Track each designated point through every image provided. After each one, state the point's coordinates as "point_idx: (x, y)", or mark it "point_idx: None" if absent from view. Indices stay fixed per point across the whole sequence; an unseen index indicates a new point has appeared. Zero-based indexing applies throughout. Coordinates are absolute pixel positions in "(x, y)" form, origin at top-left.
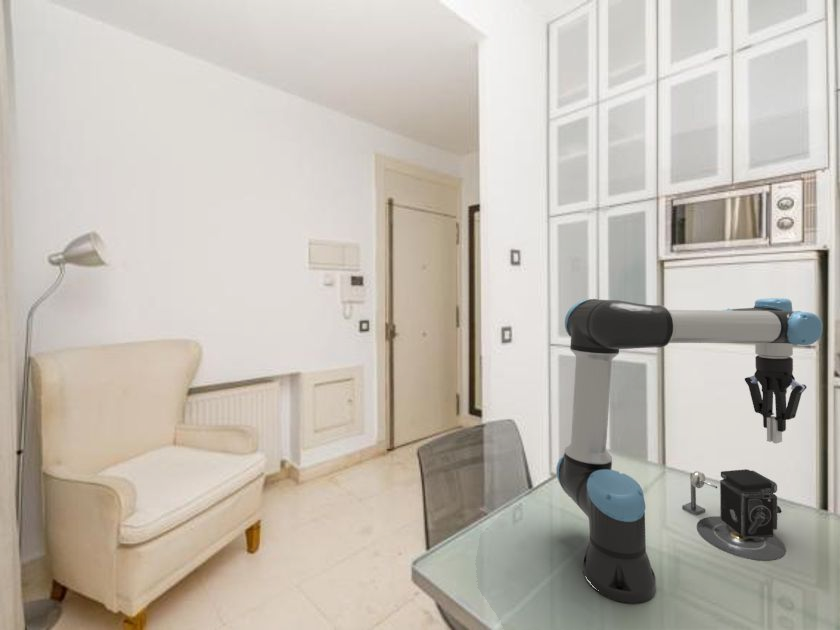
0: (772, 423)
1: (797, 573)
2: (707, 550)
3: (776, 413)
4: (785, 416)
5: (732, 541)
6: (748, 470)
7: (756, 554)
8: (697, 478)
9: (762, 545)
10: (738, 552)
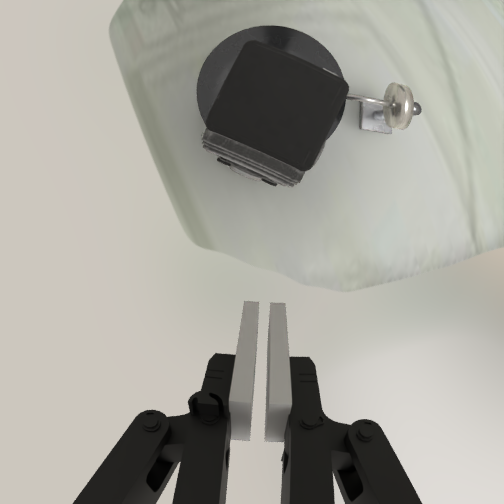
0: (268, 390)
1: (164, 74)
2: (275, 8)
3: (220, 445)
4: (159, 428)
5: None
6: (298, 160)
7: (221, 60)
8: (395, 91)
9: None
10: (241, 39)
